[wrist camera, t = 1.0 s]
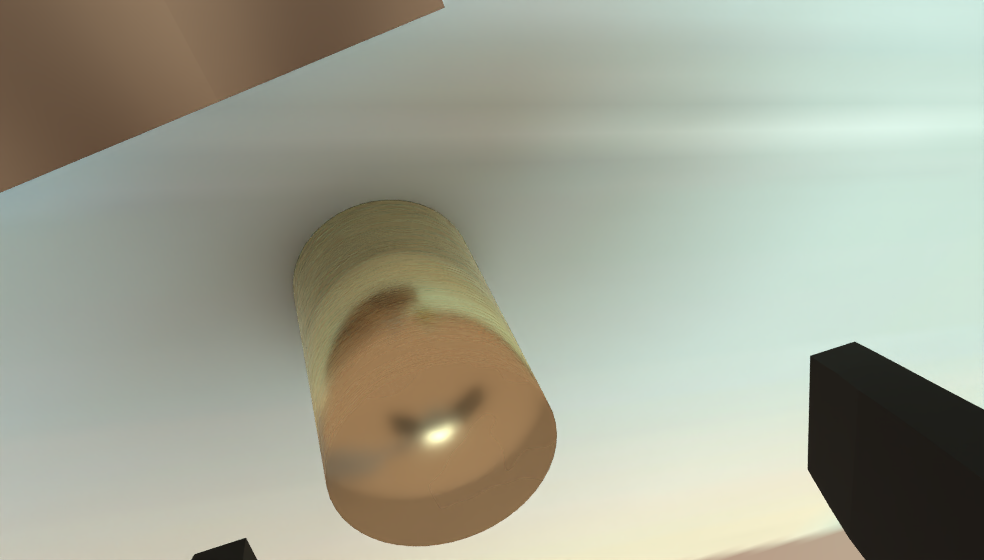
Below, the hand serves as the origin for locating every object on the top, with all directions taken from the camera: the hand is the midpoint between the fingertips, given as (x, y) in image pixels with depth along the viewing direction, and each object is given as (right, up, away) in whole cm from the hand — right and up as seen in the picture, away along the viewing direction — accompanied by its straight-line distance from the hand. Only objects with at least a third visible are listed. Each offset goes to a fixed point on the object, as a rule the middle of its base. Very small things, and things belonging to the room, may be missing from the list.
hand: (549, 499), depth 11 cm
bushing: (-3, +3, +9) cm, 10 cm away
